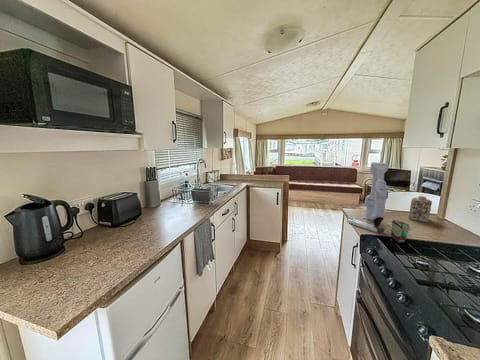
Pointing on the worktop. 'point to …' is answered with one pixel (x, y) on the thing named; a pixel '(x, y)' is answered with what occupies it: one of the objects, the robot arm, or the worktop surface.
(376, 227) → the hinged tong arm
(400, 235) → the food container
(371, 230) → the fixed tong arm
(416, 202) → the decorative jar
